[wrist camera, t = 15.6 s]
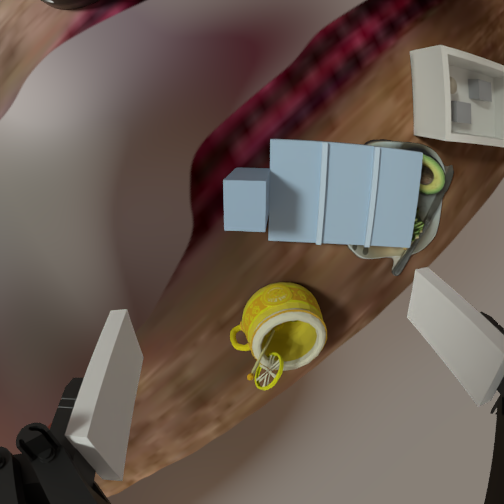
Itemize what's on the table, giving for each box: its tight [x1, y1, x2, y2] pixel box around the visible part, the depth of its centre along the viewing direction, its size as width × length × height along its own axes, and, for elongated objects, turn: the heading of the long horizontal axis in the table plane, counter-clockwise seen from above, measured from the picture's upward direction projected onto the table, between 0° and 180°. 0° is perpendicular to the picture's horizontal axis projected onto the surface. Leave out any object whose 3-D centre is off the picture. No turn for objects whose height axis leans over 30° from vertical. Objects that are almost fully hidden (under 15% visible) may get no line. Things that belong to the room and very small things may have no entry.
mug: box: [230, 282, 327, 390], centre depth 40 cm, size 13×11×12 cm
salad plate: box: [347, 139, 454, 276], centre depth 40 cm, size 19×18×5 cm
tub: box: [410, 45, 504, 147], centre depth 33 cm, size 12×18×7 cm, turn 94°
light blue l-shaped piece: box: [223, 139, 423, 248], centre depth 34 cm, size 12×22×9 cm, turn 90°
